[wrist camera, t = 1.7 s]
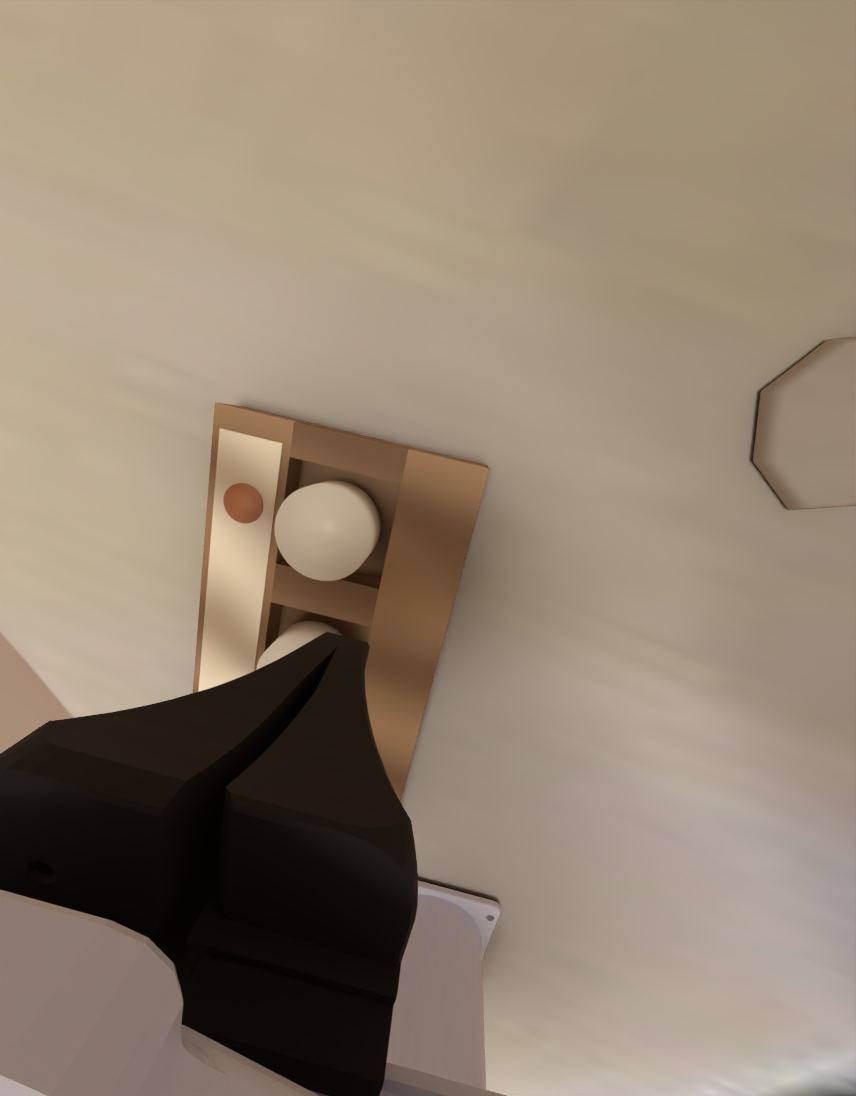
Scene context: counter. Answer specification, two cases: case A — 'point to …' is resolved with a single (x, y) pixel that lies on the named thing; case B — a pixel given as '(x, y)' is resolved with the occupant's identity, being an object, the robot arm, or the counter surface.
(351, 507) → the button
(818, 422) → the flask
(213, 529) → the board
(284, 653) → the middle button
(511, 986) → the counter surface
